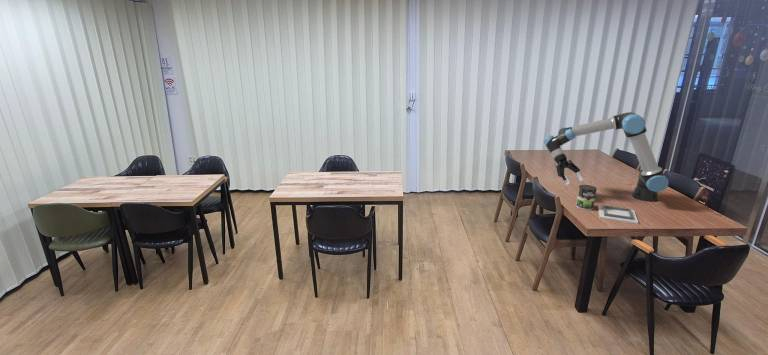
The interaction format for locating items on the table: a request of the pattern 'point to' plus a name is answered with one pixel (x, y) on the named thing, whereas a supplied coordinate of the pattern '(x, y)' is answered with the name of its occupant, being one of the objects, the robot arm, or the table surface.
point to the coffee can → (586, 197)
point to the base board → (617, 214)
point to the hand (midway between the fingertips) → (575, 182)
